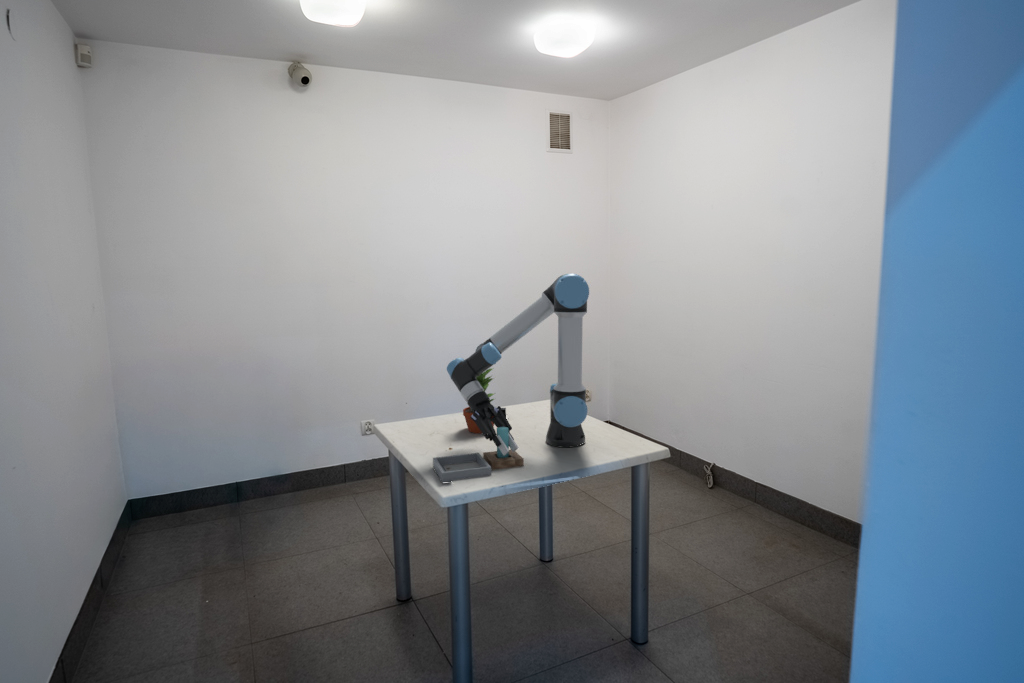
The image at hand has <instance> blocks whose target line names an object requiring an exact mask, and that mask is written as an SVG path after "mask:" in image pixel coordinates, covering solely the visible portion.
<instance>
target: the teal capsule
mask: <svg viewBox="0 0 1024 683" xmlns="http://www.w3.org/2000/svg"><path fill="white" fill-rule="evenodd" d="M496 434H497V435H499V436H500V437H501V439H502V440H503V442H504V443H505V445H506V446H507V448H508V449H509V450H510V447H509V436H508V427H498V428H497V427H496ZM497 435H496V436H497ZM496 451H497V458H498V459H499V458H507V457H509V452H508V453H507V454H506V455H503V454H502V452H501V451H500V449H499V448H498V447H497V446H496Z"/></svg>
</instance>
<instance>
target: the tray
mask: <svg viewBox="0 0 1024 683" xmlns="http://www.w3.org/2000/svg"><path fill="white" fill-rule="evenodd" d="M470 462H477V463H478V464H479V466H480V467H474V468H464V469H457V470H455V469H454V470H448V471H447V470H446V469H445V467H444V466H445V465H453V464H463V463H470ZM433 468H434V469H435V470H434V469H433ZM432 469H433V470H434V472H435V471H436V472H435V474H436V473H437V474H438V476H439V477H438V476H437V477H438V479H439V478H440V479H441V481H442V482H451V481H453V480H460V479H461V480H462V479H469V478H478V477H484V476H485V477H486V476H491V475H492V469H491V466H490V465H489V464H488V463H487V462H486V461H485V459H484V458H483V455H481V454H480V452H473V453H465V454H462V453H461V454H455V455H454V454H453V455H446V456H437V457H432ZM437 474H436V475H437ZM440 479H439V480H440ZM441 481H440V482H441Z"/></svg>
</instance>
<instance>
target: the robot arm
mask: <svg viewBox="0 0 1024 683" xmlns="http://www.w3.org/2000/svg"><path fill="white" fill-rule="evenodd" d="M589 296H590V287H589V283H588V282H587V280H585V278H584V277H582V276H581V275H579V274H577V273H565V274H562V275H560V276H557V277H556V279H555V280H554V281H553V282H552V283H551V285H549V286H548V287H547V288H546V289H545V290H544V291H543V292H542V293H541V297H539V298H538V299H537V300H536V301H535V302H533V303H532V304H530V305H529V306H528V307H527V308H526V309H524V310H523V311H522V312H520V313H519V314H517V315H516V316H515V317H514V318H512V320H510V321H508V322H507V324H505V325H504V326H503V327H501V328H500V329H499V330H497V331H496V332H495V333H494V334H493V335H491V336H490V337H489V338H488V339H486V340H485V341H484V342H483V343H481V344H479V345H478V346H477V347H476V349H475V350H474V351H475V352H473V354H471V355H470V356H469V357H467V358H466V359H464V358H463V357H457V358H455V359H452V360H451V361H449V363H448V364H447V366H446V371H447V374H448V375H449V377H450V379H451V381H452V382H453V384H454V385H455V386H456V388H457V389H458V391H459V393H460V394H461V396H462V398H463V399H464V400H465V402H466V404H467V405H468V406H467V407H470V409H471V410H472V411H474V413H473V414H472V416H471V417H470V418H471V419H472V420H473V421H474V422H475V423H476V425H477V426H478V428H479V429H480V431H481V432H482V433H481V434H482V435H483V437H484V438H485V439H486V440H489V441H490V442H493V443H494V445H495V446H496V448H497V447H498V448H499V449H500V451H501V452H502V454H503V455H506V454H507V453H508V452H509V450H512V452H515V451H516V452H517V450H518V449H519V446H518V444H517V443H516V441H515V439H514V437H513V435H512V434H511V431H512V429H513V426H512V425H511V424H510V422H509V421H508V420H509V419H508V420H507V419H506V417H505V416H504V414H503V412H502V410H501V408H502V407H501V406H494V405H493V404H492V403H491V402H490V400H491V397H488V395H487V394H488V393H486V391H485V392H484V389H483V388H482V386H481V385H480V383H479V382H478V380H477V379H476V377H478V376H479V375H480V374H481V373H483V372H485V371H486V370H488V369H491V367H493V366H494V365H496V364H497V363H498V362H499V361H500V360H501V359H502V354H503V353H505V351H507V350H508V349H509V348H511V347H512V346H513V345H514V344H515V343H517V342H519V340H520V339H522V338H523V337H525V336H526V335H527V334H528V333H529V332H530V333H531V332H532V330H533V329H535V328H537V327H538V326H539V325H540V324H541V323H543V322H544V321H545V320H546V319H548V318H549V317H550V316H552V315H553V314H555V315H556V316H557V319H558V320H557V323H558V324H557V383H552V384H551V385H550V388H549V393H550V394H549V395H550V397H549V398H550V400H549V402H550V413H549V414H550V415H549V416H550V422H549V426H548V429H547V432H546V435H545V442H546V443H547V445H550V446H552V445H553V446H554V447H557V446H562V447H561V448H571V447H570V446H576V447H578V446H577V445H580V444H582V443H584V442H585V443H586V435H585V432H584V428H583V426H582V424H583V423H584V421H585V420H586V418H587V416H588V405H587V403H586V402H587V400H586V397H587V396H586V395H587V388H586V387H585V385H584V384H583V382H582V381H583V379H582V377H583V320H584V319H583V318H584V316H585V315H586V314H587V313H588V299H589ZM491 422H493V423H494V426H495V427H496V429H497V428H498V427H508V436H509V449H508V448H507V446H506V445H505V443H504V442H503V440H502V439H501V437H500V436H499V435H497V431H496V430H495V428H494V426H493V425H492V423H491ZM585 443H584V444H585ZM580 446H581V445H580Z"/></svg>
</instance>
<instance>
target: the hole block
mask: <svg viewBox="0 0 1024 683" xmlns="http://www.w3.org/2000/svg"><path fill="white" fill-rule="evenodd" d="M482 457H483V458H484V459H485V461H486V462H487V463H488V464H489V465H490V466H491V471H493V470H495V471H496V470H502V469H503V470H504V469H509V468H517V467H525V466H524V457H522V456H521V455H520V454H519V453H518V452H517V450H516V451H515V452H512V450H511V449H509V457H507V458H499V459H498V458H497V450H495V451H493V450H492V451H486V452H483V453H482Z"/></svg>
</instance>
